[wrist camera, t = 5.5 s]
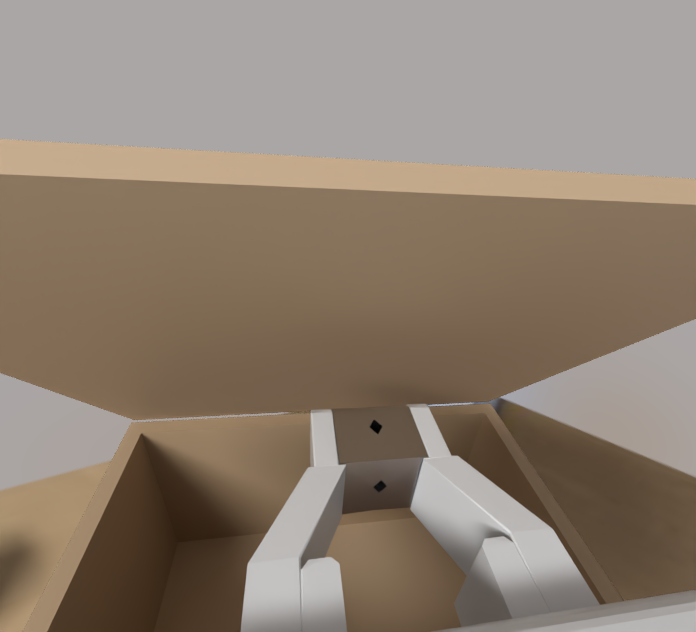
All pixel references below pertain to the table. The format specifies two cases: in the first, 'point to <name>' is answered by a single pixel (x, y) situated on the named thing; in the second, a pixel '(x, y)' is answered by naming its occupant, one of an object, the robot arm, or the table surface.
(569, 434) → the table surface
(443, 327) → the flap
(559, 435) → the table surface
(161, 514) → the carton
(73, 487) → the table surface
